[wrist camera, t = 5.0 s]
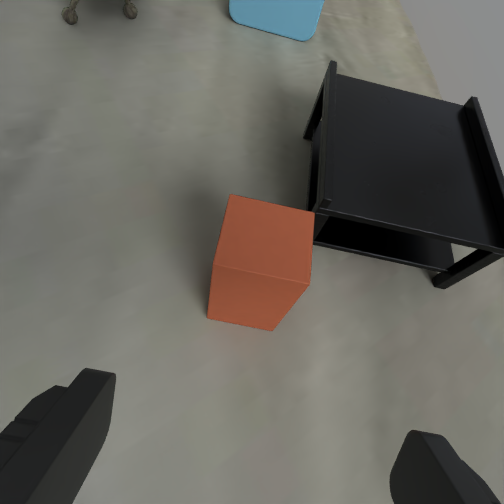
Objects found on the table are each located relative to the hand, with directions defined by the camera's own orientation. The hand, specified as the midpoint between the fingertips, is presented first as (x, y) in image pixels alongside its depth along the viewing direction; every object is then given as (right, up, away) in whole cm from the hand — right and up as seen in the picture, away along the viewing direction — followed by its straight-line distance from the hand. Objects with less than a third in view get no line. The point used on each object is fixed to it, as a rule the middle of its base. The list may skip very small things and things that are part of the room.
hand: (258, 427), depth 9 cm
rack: (+11, +10, +23) cm, 27 cm away
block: (-1, +1, +16) cm, 16 cm away
